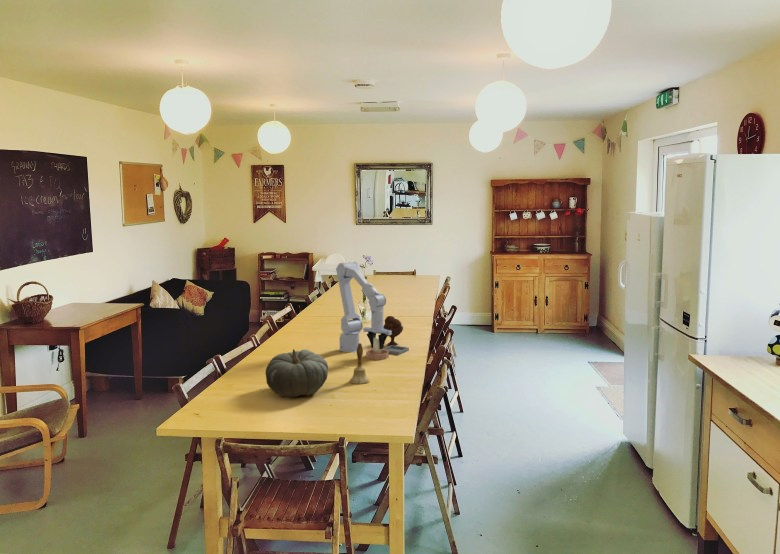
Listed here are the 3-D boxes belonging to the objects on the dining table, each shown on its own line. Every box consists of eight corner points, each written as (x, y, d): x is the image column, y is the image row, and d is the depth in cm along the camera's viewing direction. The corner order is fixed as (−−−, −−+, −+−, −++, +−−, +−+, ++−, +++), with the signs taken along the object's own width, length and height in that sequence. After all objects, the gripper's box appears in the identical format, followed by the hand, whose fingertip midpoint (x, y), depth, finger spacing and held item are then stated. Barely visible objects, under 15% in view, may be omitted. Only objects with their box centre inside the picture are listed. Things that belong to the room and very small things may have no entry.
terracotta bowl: (362, 358, 289) (362, 352, 288) (374, 353, 298) (373, 347, 297) (381, 362, 283) (381, 355, 283) (392, 356, 292) (392, 350, 292)
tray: (380, 353, 299) (380, 349, 299) (391, 349, 307) (391, 345, 307) (398, 356, 294) (398, 352, 293) (408, 351, 302) (408, 347, 302)
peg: (371, 355, 290) (371, 338, 289) (376, 353, 293) (376, 337, 292) (378, 356, 288) (378, 339, 287) (383, 354, 291) (383, 338, 290)
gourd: (317, 371, 258) (314, 334, 252) (340, 398, 237) (338, 357, 231) (259, 386, 247) (255, 347, 241) (278, 415, 226) (275, 373, 220)
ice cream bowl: (385, 347, 309) (385, 318, 307) (379, 342, 320) (379, 314, 318) (405, 346, 312) (405, 317, 310) (399, 341, 323) (399, 313, 321)
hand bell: (354, 377, 259) (354, 340, 257) (372, 379, 256) (372, 342, 254) (346, 382, 252) (345, 345, 250) (364, 385, 249) (364, 346, 247)
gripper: (359, 319, 288) (359, 348, 290) (386, 323, 281) (386, 352, 283) (367, 317, 294) (368, 344, 296) (393, 320, 287) (393, 348, 289)
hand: (377, 348), depth 290 cm, fingers closed on peg, 4 cm apart
